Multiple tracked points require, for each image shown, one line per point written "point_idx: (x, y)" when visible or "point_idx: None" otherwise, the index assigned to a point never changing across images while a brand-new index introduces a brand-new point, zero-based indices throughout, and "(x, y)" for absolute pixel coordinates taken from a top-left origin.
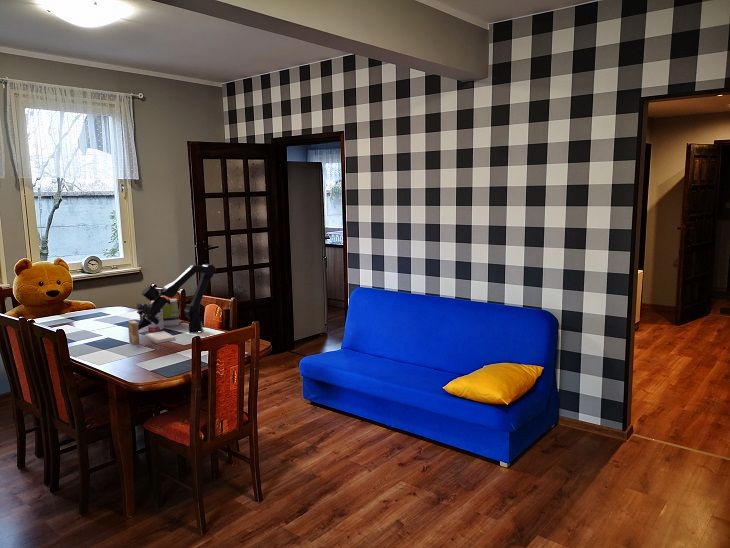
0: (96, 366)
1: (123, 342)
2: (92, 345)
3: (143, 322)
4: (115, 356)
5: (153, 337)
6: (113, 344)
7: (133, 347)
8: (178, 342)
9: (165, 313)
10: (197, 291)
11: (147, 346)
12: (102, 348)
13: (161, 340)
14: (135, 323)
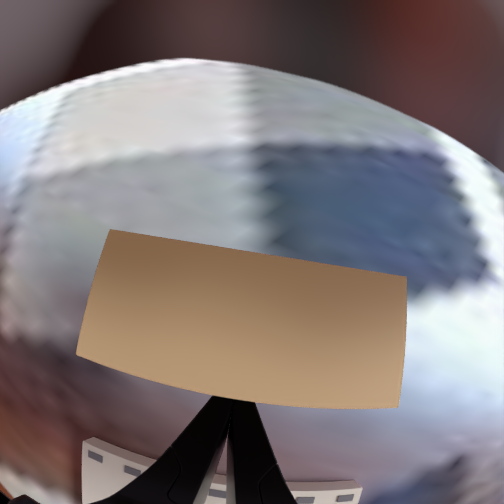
0: (67, 86)
1: None
2: (392, 153)
3: (154, 501)
4: (82, 143)
5: None
6: (335, 224)
7: None
8: (28, 490)
9: None
10: None
11: (70, 350)
12: (289, 149)
13: (86, 473)
14: (92, 306)
